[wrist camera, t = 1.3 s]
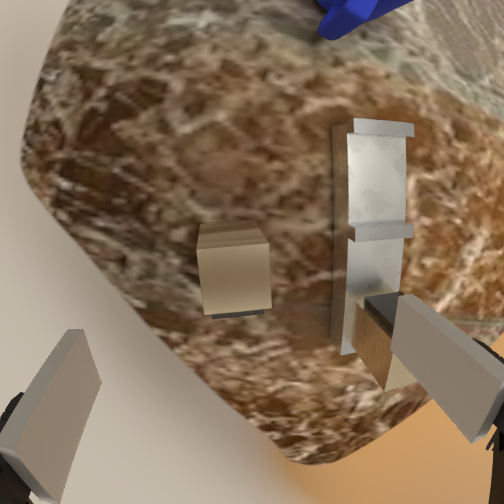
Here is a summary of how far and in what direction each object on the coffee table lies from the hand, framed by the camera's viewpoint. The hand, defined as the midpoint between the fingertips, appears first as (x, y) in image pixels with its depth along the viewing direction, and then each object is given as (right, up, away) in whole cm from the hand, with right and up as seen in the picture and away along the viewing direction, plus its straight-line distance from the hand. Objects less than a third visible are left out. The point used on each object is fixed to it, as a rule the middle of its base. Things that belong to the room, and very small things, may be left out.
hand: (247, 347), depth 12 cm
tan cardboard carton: (-2, +4, +13) cm, 13 cm away
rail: (+9, +5, +14) cm, 17 cm away
